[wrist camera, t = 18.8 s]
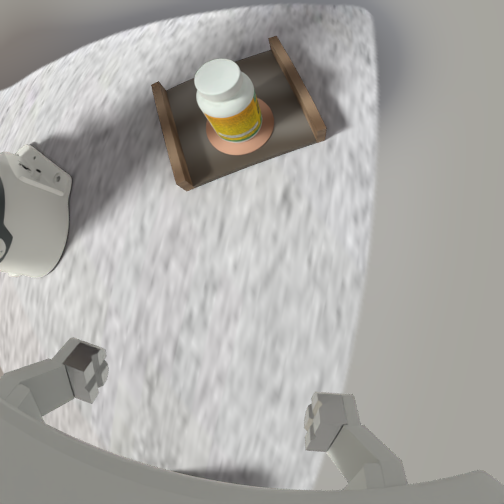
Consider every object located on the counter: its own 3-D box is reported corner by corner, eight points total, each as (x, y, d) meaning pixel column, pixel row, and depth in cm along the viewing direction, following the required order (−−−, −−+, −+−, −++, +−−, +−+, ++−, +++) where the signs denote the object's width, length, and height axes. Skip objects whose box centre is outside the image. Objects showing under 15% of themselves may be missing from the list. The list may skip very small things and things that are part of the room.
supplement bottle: (207, 119, 33) (176, 73, 23) (247, 95, 32) (227, 43, 23) (230, 154, 32) (203, 112, 23) (273, 127, 32) (260, 78, 22)
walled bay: (324, 140, 31) (326, 128, 28) (186, 191, 34) (176, 184, 31) (278, 50, 33) (276, 35, 30) (160, 96, 35) (151, 84, 32)
